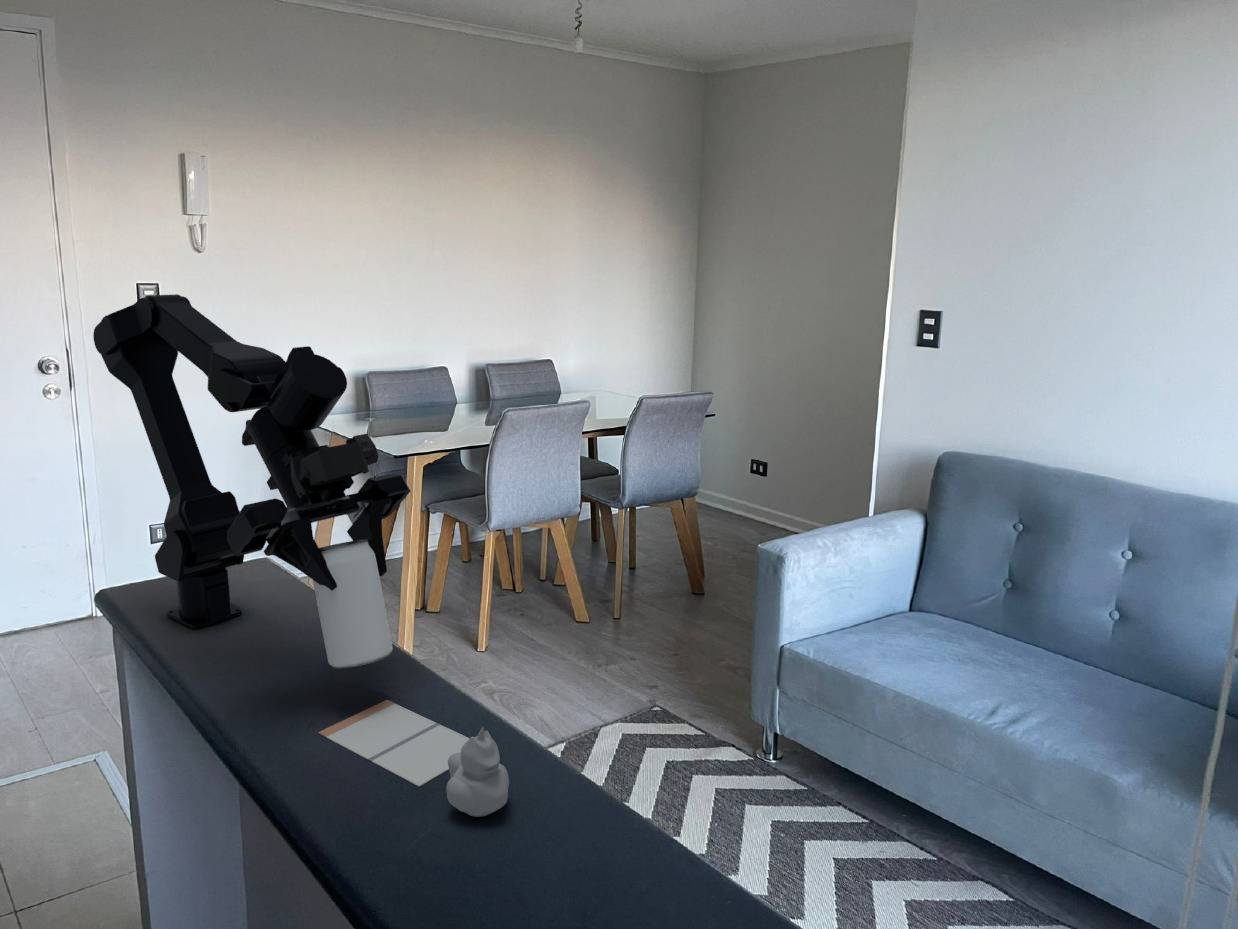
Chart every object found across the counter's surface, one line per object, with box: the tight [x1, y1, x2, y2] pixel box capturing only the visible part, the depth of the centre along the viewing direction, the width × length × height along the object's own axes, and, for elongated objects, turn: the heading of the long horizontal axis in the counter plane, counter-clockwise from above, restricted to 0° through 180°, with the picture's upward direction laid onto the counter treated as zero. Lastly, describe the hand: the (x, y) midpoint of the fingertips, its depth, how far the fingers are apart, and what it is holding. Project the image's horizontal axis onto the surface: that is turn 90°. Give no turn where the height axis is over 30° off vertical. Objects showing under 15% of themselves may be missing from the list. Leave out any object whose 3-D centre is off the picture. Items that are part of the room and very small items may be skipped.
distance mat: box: [317, 699, 471, 788], centre depth 92 cm, size 14×8×1 cm, turn 54°
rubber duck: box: [445, 726, 510, 818], centre depth 81 cm, size 5×7×8 cm
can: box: [312, 539, 394, 669], centre depth 97 cm, size 6×6×12 cm
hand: (359, 581), depth 96 cm, fingers closed on can, 6 cm apart
